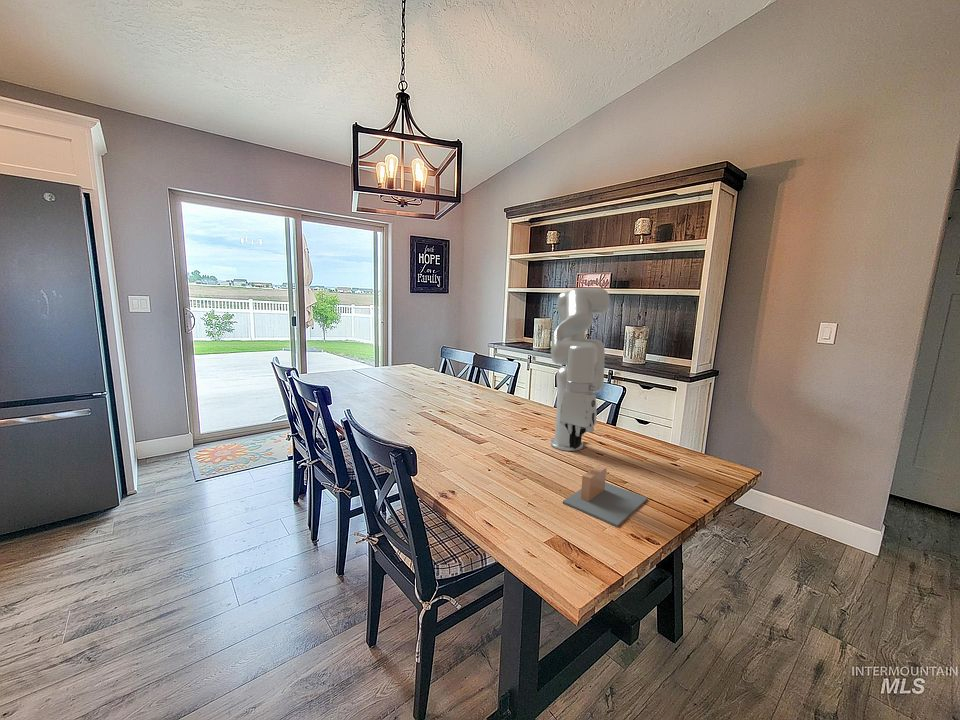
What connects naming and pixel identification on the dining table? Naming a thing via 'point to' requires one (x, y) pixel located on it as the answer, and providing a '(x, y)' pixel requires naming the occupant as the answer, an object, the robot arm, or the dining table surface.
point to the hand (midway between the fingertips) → (574, 446)
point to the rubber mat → (608, 504)
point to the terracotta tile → (593, 483)
